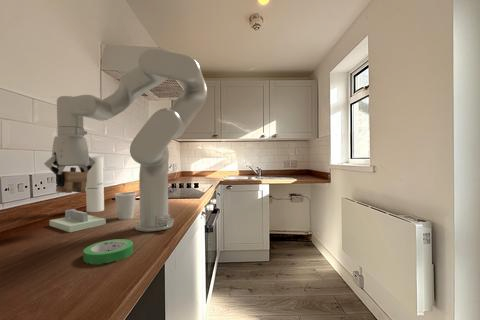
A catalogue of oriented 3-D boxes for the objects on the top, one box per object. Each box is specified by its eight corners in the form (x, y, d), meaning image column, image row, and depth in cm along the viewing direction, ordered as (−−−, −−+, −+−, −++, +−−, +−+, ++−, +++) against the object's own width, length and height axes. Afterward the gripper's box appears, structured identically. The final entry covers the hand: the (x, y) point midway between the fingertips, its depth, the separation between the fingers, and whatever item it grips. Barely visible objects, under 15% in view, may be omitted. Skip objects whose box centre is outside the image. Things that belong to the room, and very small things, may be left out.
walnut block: (85, 192, 88) (87, 168, 89) (66, 192, 83) (69, 166, 84) (74, 191, 92) (76, 167, 93) (56, 191, 87) (58, 166, 88)
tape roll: (72, 264, 60) (71, 252, 60) (104, 247, 71) (104, 238, 71) (114, 267, 58) (114, 255, 58) (141, 249, 69) (141, 239, 69)
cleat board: (105, 224, 95) (105, 210, 95) (69, 232, 85) (69, 217, 85) (84, 218, 104) (84, 206, 104) (49, 225, 94) (49, 212, 94)
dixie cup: (111, 218, 105) (110, 193, 104) (131, 214, 111) (131, 191, 111) (119, 221, 99) (119, 195, 99) (140, 217, 105) (140, 193, 105)
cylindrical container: (107, 210, 121) (106, 157, 121) (91, 212, 115) (90, 157, 115) (98, 208, 125) (97, 157, 125) (83, 211, 119) (82, 157, 119)
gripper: (90, 135, 97) (91, 182, 97) (35, 132, 82) (37, 187, 83) (101, 134, 93) (102, 183, 94) (46, 130, 79) (48, 188, 79)
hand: (72, 184), depth 88 cm, fingers closed on walnut block, 6 cm apart
